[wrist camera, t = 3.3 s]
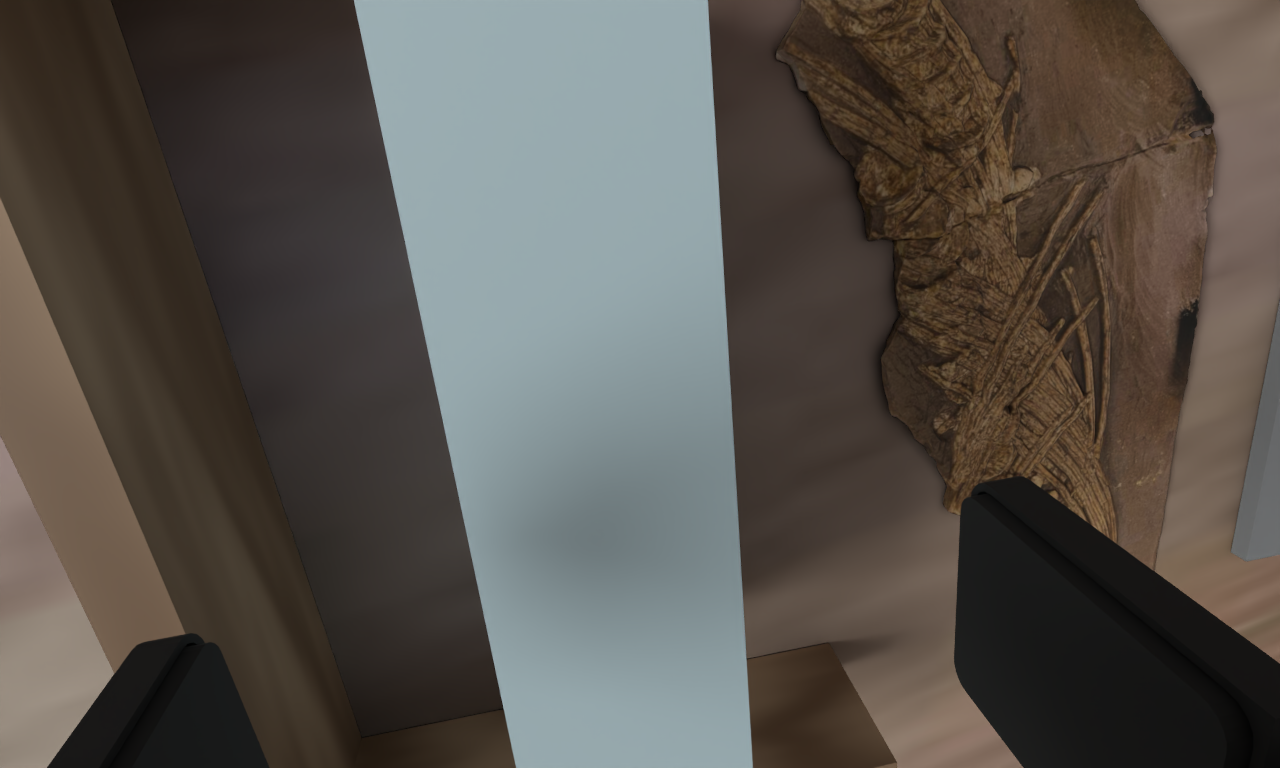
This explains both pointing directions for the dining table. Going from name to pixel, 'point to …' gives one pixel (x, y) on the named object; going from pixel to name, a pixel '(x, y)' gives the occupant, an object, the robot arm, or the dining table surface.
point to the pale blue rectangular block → (579, 358)
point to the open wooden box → (209, 432)
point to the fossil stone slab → (1026, 234)
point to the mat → (1263, 471)
